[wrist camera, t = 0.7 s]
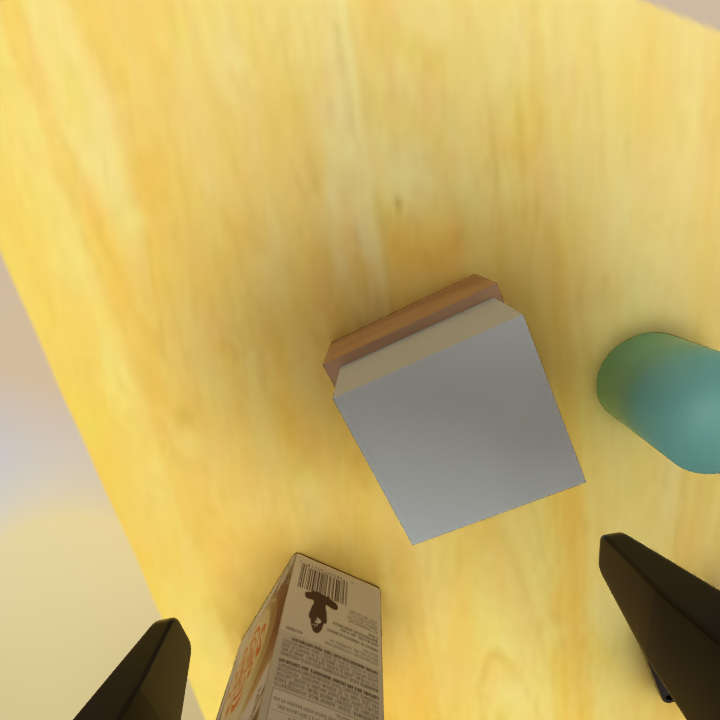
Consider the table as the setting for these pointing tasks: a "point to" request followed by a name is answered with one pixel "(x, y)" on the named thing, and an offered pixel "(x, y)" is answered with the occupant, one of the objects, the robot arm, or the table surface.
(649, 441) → the teal cylinder
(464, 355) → the tower top
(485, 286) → the tower base
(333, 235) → the table surface
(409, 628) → the table surface
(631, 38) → the table surface
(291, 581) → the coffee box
